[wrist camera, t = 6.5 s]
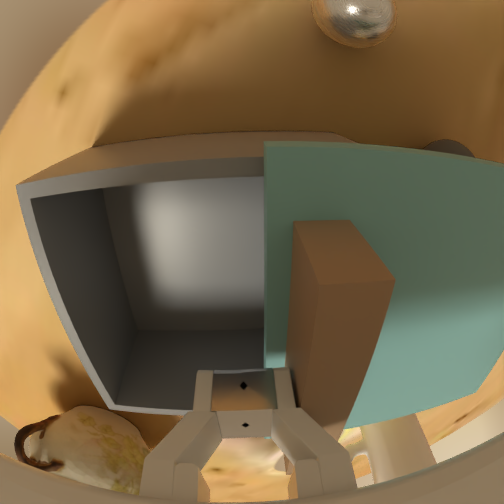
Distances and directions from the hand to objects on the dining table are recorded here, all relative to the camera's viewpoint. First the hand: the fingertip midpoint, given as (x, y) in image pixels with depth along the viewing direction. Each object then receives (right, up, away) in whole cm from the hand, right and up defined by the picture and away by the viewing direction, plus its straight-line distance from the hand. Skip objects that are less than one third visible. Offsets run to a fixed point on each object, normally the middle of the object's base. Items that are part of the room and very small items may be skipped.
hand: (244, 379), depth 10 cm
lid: (+8, +1, +2) cm, 8 cm away
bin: (-2, +4, +8) cm, 10 cm away
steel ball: (+5, +16, +2) cm, 17 cm away
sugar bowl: (-16, -15, +19) cm, 29 cm away
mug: (+14, -14, +19) cm, 28 cm away
